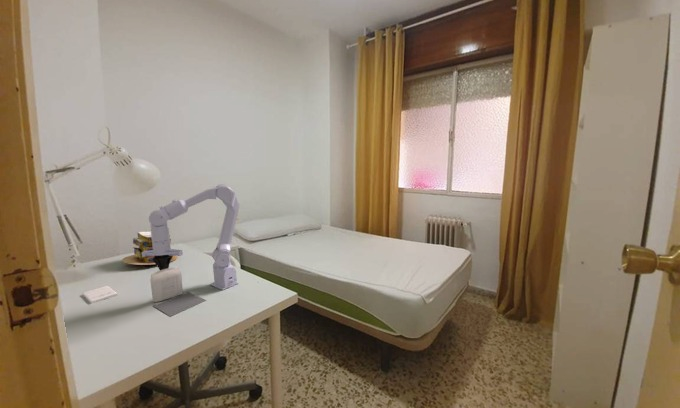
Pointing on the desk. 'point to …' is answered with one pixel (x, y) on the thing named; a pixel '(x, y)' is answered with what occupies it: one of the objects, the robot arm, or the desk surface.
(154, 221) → the robot arm
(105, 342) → the desk surface
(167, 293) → the photo printer
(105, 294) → the external hard drive
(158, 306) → the rubber mat
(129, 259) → the sandwich platter
